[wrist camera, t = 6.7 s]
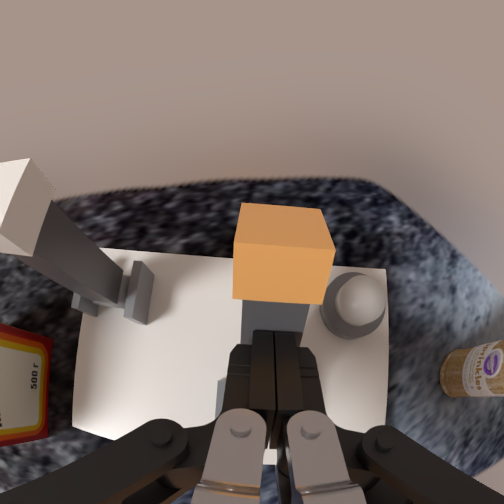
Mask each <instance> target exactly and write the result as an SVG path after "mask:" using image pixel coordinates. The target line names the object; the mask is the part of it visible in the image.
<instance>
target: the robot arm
mask: <svg viewBox="0 0 504 504" xmlns="http://www.w3.org/2000/svg"><path fill="white" fill-rule="evenodd" d="M317 368H318V367H317V362H316V357H315V356H314V354H313V353H312V352H311V350H310V349H309V348H308V347H296V339H295V334H294V333H283V332H274V335H273V332H263V331H253V335H252V345H249V344H237V345H236V346H235V347H234V348H233V350H232V351H231V352H230V356H229V363H228V370H227V377H226V384H225V391H224V398H223V406H222V410H221V412H220V414H219V416H218V417H217V418H216V419H215V420H213V421H212V422H210V423H208V424H206V425H202V426H197V427H189V428H183V427H182V426H181V425H180V424H179V423H177V422H175V421H173V420H170V419H163V418H160V419H153V420H150V421H148V422H146V423H144V424H143V425H141V426H139V427H138V428H136V429H134V430H132V431H131V432H129V433H127V434H125V435H124V436H122V437H120V438H118V439H116V440H115V441H113V442H111V443H109V444H107V445H105V446H104V447H102V448H100V449H98V450H96V451H94V452H92V453H90V454H88V455H86V456H84V457H82V458H80V459H78V460H76V461H74V462H72V463H70V464H68V465H66V466H64V467H62V468H60V469H58V470H56V471H53V472H51V473H49V474H47V475H45V476H42V477H40V478H38V479H35V480H33V481H31V482H28V483H26V484H23V485H21V486H19V487H16V488H13V489H11V490H8V491H6V492H3V493H0V504H169V503H171V502H172V501H174V500H175V499H177V498H178V497H180V496H181V495H183V494H184V493H185V492H187V491H188V490H190V489H191V488H192V487H196V488H195V491H194V494H193V497H192V501H191V504H259V500H260V483H261V474H262V466H263V457H264V452H265V449H267V448H268V443H269V449H277V462H276V465H275V474H276V484H277V493H278V503H279V504H504V496H503V495H501V494H500V493H498V492H496V491H494V490H492V489H490V488H489V487H487V486H485V485H484V484H482V483H480V482H479V481H477V480H475V479H473V478H472V477H470V476H468V475H467V474H465V473H464V472H462V471H460V470H459V469H457V468H455V467H454V466H452V465H451V464H449V463H447V462H446V461H444V460H443V459H441V458H439V457H438V456H436V455H435V454H433V453H432V452H430V451H429V450H427V449H426V448H424V447H423V446H421V445H420V444H418V443H417V442H415V441H414V440H412V439H411V438H409V437H408V436H406V435H405V434H403V433H402V432H400V431H399V430H397V429H396V428H394V427H391V426H387V425H378V426H375V427H372V428H370V429H369V430H368V431H367V432H366V433H361V432H356V431H351V430H346V429H343V428H341V427H339V426H337V425H335V424H334V423H333V421H332V420H331V419H330V418H329V417H328V416H327V413H326V410H325V404H324V399H323V393H322V388H321V383H320V379H319V372H318V370H317Z"/></svg>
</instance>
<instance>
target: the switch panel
mask: <svg viewBox="0 0 504 504" xmlns="http://www.w3.org/2000/svg"><path fill="white" fill-rule="evenodd" d="M100 249H101V250H102V251H103V252H104V253H105V254H106V255H107V256H108V257H109V258H110V259H111V260H113V261H114V262H115V263H116V264H117V265H118V266H119V267H120V268H121V269H122V270H124V271H123V275H127V276H130V281H129V286H128V292H127V298H126V303H125V309H122V308H115V307H109V306H103V305H97V304H94V303H92V301H91V300H87V299H85V298H84V297H82V296H80V295H78V294H76V293H74V294H73V299H72V304H71V308H74V309H76V310H78V311H80V312H83V316H82V322H81V329H80V335H79V343H78V350H77V359H76V368H75V379H74V393H73V413H72V426H73V427H76V428H79V429H81V430H84V431H87V432H90V433H93V434H96V435H99V436H102V437H105V438H109V439H112V440H116V439H118V438H120V437H122V436H124V435H125V434H127V433H129V432H131V431H132V430H134V429H136V428H138V427H139V426H141V425H143V424H144V423H146V422H148V421H150V420H153V419H160V418H163V419H170V420H173V421H175V422H177V423H179V424H180V425H181V426H182V427H183V428H189V427H197V426H202V425H206V424H208V423H210V422H212V421H213V420H215V419H216V418H217V417H218V416H219V414H220V412H221V410H222V406H223V398H224V391H225V384H226V377H227V370H228V363H229V356H230V352H231V351H232V350H233V348H234V347H235V346H236V345H237V344H240V340H241V319H242V300H240V299H232V291H233V259H232V258H219V257H206V256H193V255H181V254H168V253H156V252H143V251H131V250H119V249H107V248H100ZM300 347H308V348H309V349H310V350H311V352H312V353H313V354H314V356H315V357H316V362H317V367H318V368H317V370H318V372H319V379H320V383H321V388H322V393H323V399H324V404H325V410H326V413H327V416H328V417H329V418H330V419H331V420H332V421H333V423H334V424H335V425H337V426H339V427H341V428H343V429H346V430H351V431H356V432H361V433H366V432H367V431H368V430H369V429H370V428H372V427H375V426H378V425H385V418H386V406H387V390H388V363H389V324H388V297H387V281H386V269H374V268H358V267H344V266H332V268H331V272H330V276H329V280H328V284H327V288H326V292H325V295H324V299H323V303H322V305H320V304H310V307H309V312H308V316H307V320H306V324H305V328H304V332H303V336H302V339H301V343H300ZM276 462H277V449H269V443H268V448H267V449H265V452H264V457H263V464H276Z"/></svg>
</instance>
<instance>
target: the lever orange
mask: <svg viewBox="0 0 504 504" xmlns="http://www.w3.org/2000/svg"><path fill="white" fill-rule="evenodd" d="M335 251H336V250H335V247H334V244H333V241H332V239H331V236H330V233H329V231H328V228H327V225H326V223H325V220H324V217H323V215H322V212H321V210H320V209H312V208H301V207H290V206H278V205H266V204H252V203H242V205H241V210H240V214H239V219H238V224H237V229H236V234H235V239H234V253H233V291H232V299H240V300H242V319H241V340H240V344H249V345H252V335H253V331H263V332H273V335H274V332H283V333H294V334H295V339H296V347H300V343H301V339H302V336H303V332H304V328H305V324H306V320H307V316H308V312H309V307H310V304H320V305H322V303H323V299H324V295H325V292H326V288H327V284H328V280H329V276H330V272H331V268H332V264H333V259H334V255H335Z"/></svg>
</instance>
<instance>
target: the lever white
mask: <svg viewBox="0 0 504 504" xmlns="http://www.w3.org/2000/svg"><path fill="white" fill-rule="evenodd" d="M54 192H55V188H54V186H52V184H51V183H50V182H49V181H48V179H47V178H46V177H45V176H44V175H43V173H42V172H41V171H40V170H39V168H38V167H37V166H36V165H35V163H34V162H33V161H32V160H31V158H28V159H21V160H15V161H9V162H3V163H0V252H2V253H9V254H11V255H13V256H14V257H16V258H17V259H19V260H20V261H22V262H24V263H25V264H27V265H28V266H30V267H32V268H33V269H35V270H36V271H38V272H40V273H41V274H43V275H45V276H46V277H48V278H50V279H51V280H53V281H55V282H57V283H58V284H60V285H62V286H64V287H65V288H67V289H69V290H71V291H73V292H74V293H76V294H78V295H80V296H82V297H84V298H85V299H87V300H91V301H92V303H94V304H97V305H103V306H109V307H115V308H122V309H125V303H126V298H127V292H128V286H129V281H130V276H127V275H123V271H124V270H122V269H121V268H120V267H119V266H118V265H117V264H116V263H115V262H114V261H113V260H111V259H110V258H109V257H108V256H107V255H106V254H105V253H104V252H103V251H102V250H101V249H100V248H99V247H98V246H97V245H96V244H94V243H93V242H92V241H91V240H90V239H89V238H88V237H87V236H86V235H85V234H84V233H83V232H82V231H81V230H80V229H79V228H78V227H77V226H76V225H75V224H74V223H73V222H72V221H71V220H70V219H69V218H68V217H67V216H66V215H65V214H64V213H63V211H62V210H61V209H60V208H59V207H58V206H57V205H56V204H55V203H54V202H53V201H52V200H51V199H52V197H53V194H54Z"/></svg>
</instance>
